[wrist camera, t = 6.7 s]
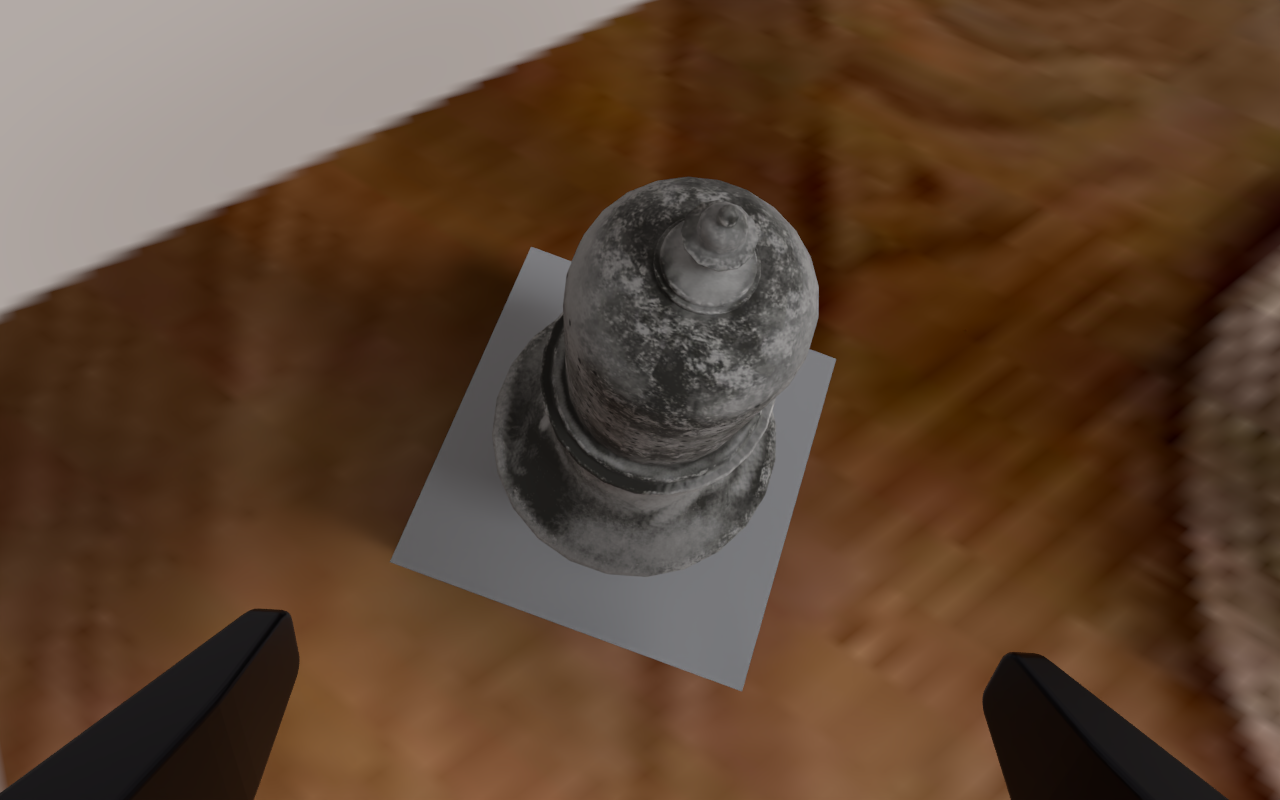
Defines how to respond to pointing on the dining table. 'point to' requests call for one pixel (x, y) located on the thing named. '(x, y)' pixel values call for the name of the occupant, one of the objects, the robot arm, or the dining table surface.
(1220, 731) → the dining table surface
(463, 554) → the rectangular block
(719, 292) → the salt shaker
